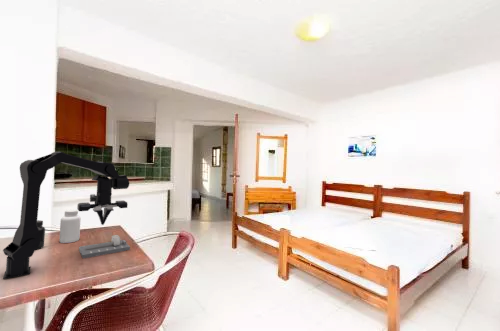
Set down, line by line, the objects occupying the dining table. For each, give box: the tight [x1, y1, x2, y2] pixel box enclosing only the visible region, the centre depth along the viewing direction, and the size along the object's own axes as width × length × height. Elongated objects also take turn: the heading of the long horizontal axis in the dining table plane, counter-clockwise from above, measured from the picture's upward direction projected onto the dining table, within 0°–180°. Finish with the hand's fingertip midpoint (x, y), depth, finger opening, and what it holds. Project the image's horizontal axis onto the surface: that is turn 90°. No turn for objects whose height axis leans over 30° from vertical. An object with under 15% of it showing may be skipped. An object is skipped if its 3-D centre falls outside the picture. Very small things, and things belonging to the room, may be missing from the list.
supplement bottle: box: [35, 219, 46, 251], centre depth 105 cm, size 7×7×12 cm
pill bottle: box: [58, 209, 81, 244], centre depth 117 cm, size 8×8×15 cm
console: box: [78, 239, 131, 259], centre depth 107 cm, size 12×18×3 cm, turn 132°
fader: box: [110, 234, 121, 246], centre depth 110 cm, size 5×2×4 cm, turn 42°
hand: (102, 224), depth 106 cm, fingers closed
